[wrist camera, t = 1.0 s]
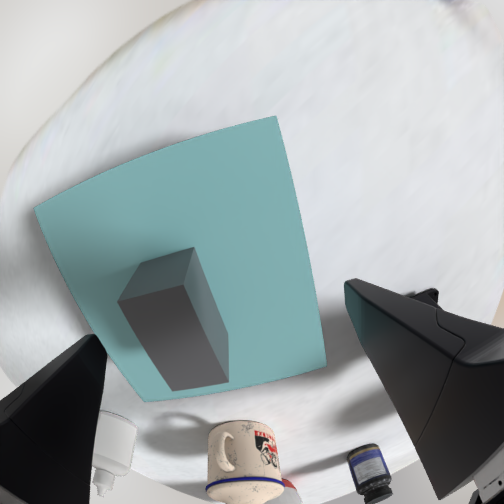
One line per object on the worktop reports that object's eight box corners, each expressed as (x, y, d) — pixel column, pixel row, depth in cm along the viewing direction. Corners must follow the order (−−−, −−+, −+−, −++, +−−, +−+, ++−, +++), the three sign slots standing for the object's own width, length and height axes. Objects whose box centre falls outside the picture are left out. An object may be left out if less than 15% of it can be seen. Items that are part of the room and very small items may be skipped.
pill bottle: (371, 454, 39) (388, 499, 29) (341, 462, 39) (356, 509, 29) (382, 439, 37) (403, 488, 27) (351, 447, 36) (369, 500, 26)
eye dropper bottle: (113, 406, 28) (91, 486, 17) (143, 429, 30) (130, 504, 19) (93, 411, 29) (71, 484, 18) (122, 433, 31) (107, 503, 20)
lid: (319, 346, 21) (343, 407, 15) (148, 383, 21) (135, 441, 16) (270, 118, 14) (294, 107, 9) (51, 199, 15) (-9, 230, 9)
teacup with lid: (284, 441, 33) (296, 511, 22) (224, 454, 34) (226, 521, 23) (254, 398, 28) (265, 492, 18) (182, 414, 29) (174, 500, 18)
